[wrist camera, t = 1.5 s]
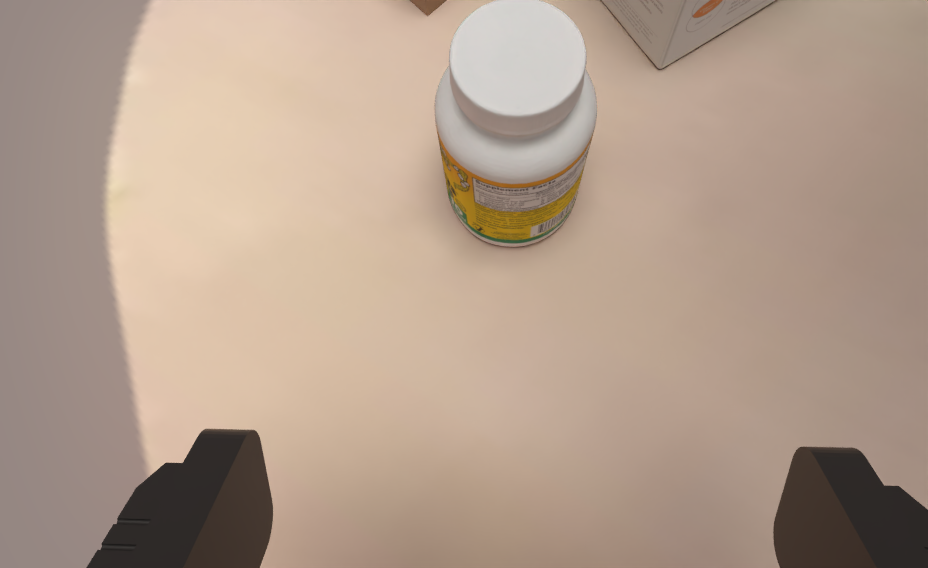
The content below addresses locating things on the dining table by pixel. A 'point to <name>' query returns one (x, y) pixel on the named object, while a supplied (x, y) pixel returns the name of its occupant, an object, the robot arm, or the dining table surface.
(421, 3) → the walnut cube
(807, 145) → the dining table surface
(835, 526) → the robot arm
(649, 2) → the small box
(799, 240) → the dining table surface
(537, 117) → the supplement bottle
